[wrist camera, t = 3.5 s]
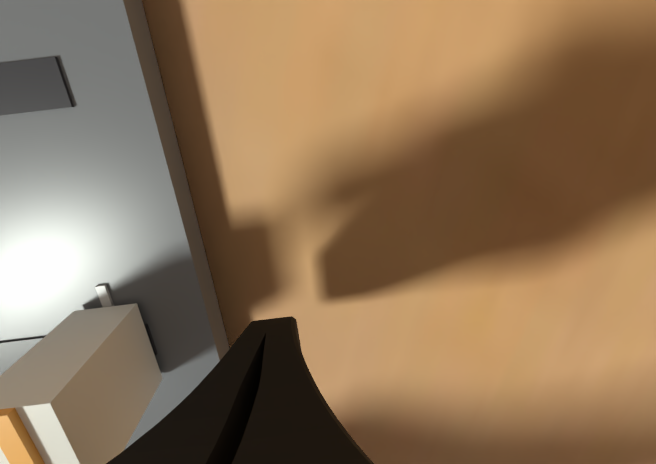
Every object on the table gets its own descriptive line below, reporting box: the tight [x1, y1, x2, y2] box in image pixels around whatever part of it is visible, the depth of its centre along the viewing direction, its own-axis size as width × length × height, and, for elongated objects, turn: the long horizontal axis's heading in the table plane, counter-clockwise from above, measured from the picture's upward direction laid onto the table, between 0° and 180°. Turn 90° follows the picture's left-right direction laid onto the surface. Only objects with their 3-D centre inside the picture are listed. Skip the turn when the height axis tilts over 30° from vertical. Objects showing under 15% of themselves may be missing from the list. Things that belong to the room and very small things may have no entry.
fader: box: [0, 303, 163, 464], centre depth 10 cm, size 3×2×4 cm, turn 6°
